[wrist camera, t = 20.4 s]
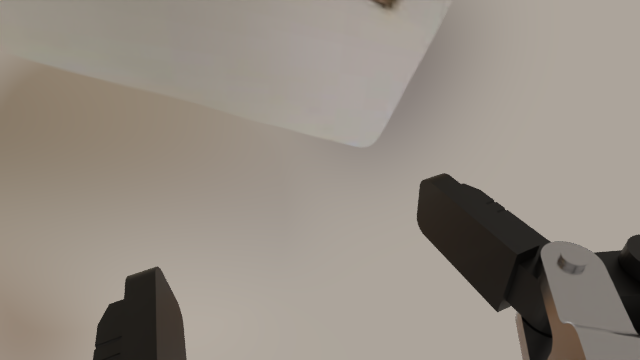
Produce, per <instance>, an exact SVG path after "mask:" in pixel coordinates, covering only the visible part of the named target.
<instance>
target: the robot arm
mask: <svg viewBox="0 0 640 360" xmlns="http://www.w3.org/2000/svg"><path fill="white" fill-rule="evenodd" d="M417 221H418V225H419V227H420V230H421V231H422V233H423V234H424V235H425V236H426V237H427V238H428V239H429V241H431V243H432V244H433V245H434V246H435V247H436V248H437V249H438V250H439V251H440V252H441V253H442V254H443V255H444V256H445V257H446V258H447V260H448V261H449V262H450V263H451V264H452V265H453V266H454V267H455V268H456V269H457V270H458V271H459V272H460V273H461V274H462V275H463V276H464V277H465V279H466V280H467V281H468V282H469V283H470V284H471V285H472V286H473V287H474V288H475V289H476V290H477V291H478V292H479V293H480V294H481V295H482V296H483V298H484V299H485V300H486V301H487V302H488V303H489V304H490V305H491V306H492V307H493V308H494V309H495V310H496V311H497V312H499V311H501V310H503V309H506V308H508V307H510V306H512V307H513V308H514V309H515V310H516V311H517V313H516V325H517V330H518V336H519V341H520V347H521V352H522V358H523V360H640V235H635V236H632V237H630V238H629V239H628V241H627V243H626V244H625V246H624V248H623V250H621V251H609V252H597V253H593V252H592V251H590V250H588V249H587V248H584V247H582V246H580V245H577V244H574V243H570V242H563V241H556V242H550V241H549V240H547V239H546V238H544V237H543V236H542V235H540V234H539V233H538V232H536V231H535V230H534V229H532V228H531V227H529V226H528V225H527V224H525V223H524V222H523V221H521V220H520V219H519V218H517V217H516V216H515V215H513V214H512V213H511V212H509V211H508V210H507V211H506V210H505V208H504V207H503V206H501V205H500V204H498V203H497V202H494V200H493V199H492V198H490V197H489V196H487V195H486V194H485V193H484V192H482V191H481V190H479V189H476V188H474V187H471V186H469V185H466V184H460V183H458V182H457V181H456V180H455V179H454V178H452V177H451V176H450V175H448V174H445V173H444V174H440V175H437V176H434V177H431V178H428V179H425V180H423V181H422V182H421V184H420V190H419V200H418V211H417ZM95 347H96V349H95V350H94V357H93V360H186V349H185V338H184V327H183V319H182V314H181V311H180V308H179V305H178V302H177V300H176V298H175V296H174V294H173V292H172V290H171V288H170V286H169V284H168V282H167V281H166V279H165V277H164V275H163V273H162V271H161V269H160V268H159V267H154V268H152V269H148V270H145V271H142V272H139V273H136V274H133V275H130V276H128V277H127V278H126V282H125V295H124V299H123V300H120V301H117V302H114V303H112V304H109V306H108V308H107V309H106V311H105V313H104V315H103V317H102V318H101V320H100V322H99V324H98V328H97V335H96V342H95Z"/></svg>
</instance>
